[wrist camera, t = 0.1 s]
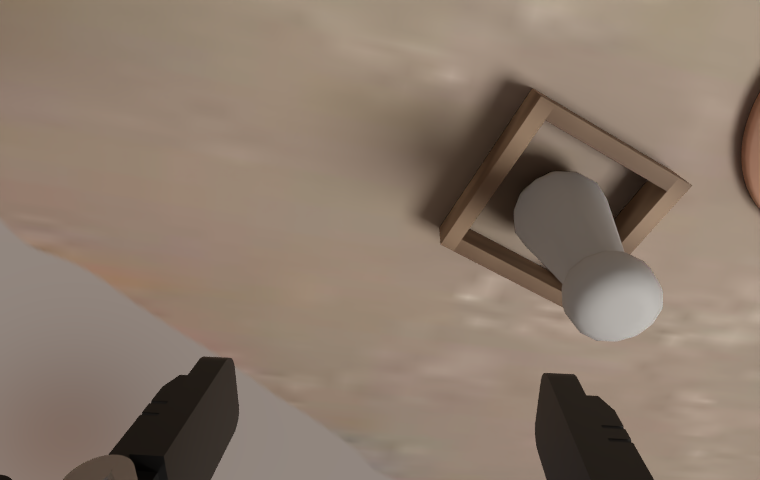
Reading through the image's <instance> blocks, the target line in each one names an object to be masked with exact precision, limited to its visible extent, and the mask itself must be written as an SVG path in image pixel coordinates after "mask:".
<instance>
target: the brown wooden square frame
mask: <svg viewBox="0 0 760 480" xmlns="http://www.w3.org/2000/svg"><path fill="white" fill-rule="evenodd" d="M545 120H546V121H548V122H549V123H551V124H553V125H554V126H556V127H558V128H560V129H561V130H563V131H565V132H566V133H568V134H570V135H571V136H573V137H575V138H577V139H578V140H580V141H582V142H583V143H585V144H587V145H589V146H590V147H592V148H594V149H595V150H597V151H599V152H601V153H602V154H604V155H606V156H607V157H609V158H611V159H613V160H614V161H616V162H618V163H619V164H621V165H623V166H625V167H626V168H628V169H630V170H631V171H633V172H635V173H637V174H638V175H640V176H642V177H643V178H645V179H647V180H648V181H647V182H646V183H645V184H644V185H643V186H642V188H641V189H640V190H639V191H638V192H637V194H636V195H635V196H634V197H633V198H632V199H631V201H630V202H629V203H628V204H627V205H626V206H625V208H624V209H623V210H622V211H621V212H620V214H619V215H618V216H617V217H616V218H615V219H614V222H615V225H616V228H617V231H618V234H619V237H620V240H621V243H622V246H623V249H624V252H625V253H628V254H631V253H632V252H633V251H634V249H635V248H636V247H637V246H638V245H639V244H640V243H641V242H642V241H643V239H644V238H645V237H646V236H647V235H648V234H649V233H650V232H651V231H652V229H653V228H654V227H655V226H656V225H657V224H658V223H659V222H660V221H661V220H662V218H663V217H664V216H665V215H666V214H667V213H668V212H669V211H670V210H671V208H672V207H673V206H674V205H675V204H676V203H677V202H678V201H679V200H680V198H681V197H682V196H683V195H684V194H685V193H686V192H687V191H688V190H689V189H690V187H691V186H692V185H691V184H689V183H688V182H687V181H685V180H684V179H683V178H681V177H680V176H678V175H677V174H676V173H674V172H673V171H671V170H670V169H668V168H666V167H665V166H663V165H661V164H659V163H658V162H656V161H654V160H653V159H651V158H649V157H648V156H646V155H644V154H643V153H641V152H639V151H638V150H636V149H634V148H633V147H631V146H629V145H627V144H626V143H624V142H622V141H621V140H619V139H617V138H616V137H614V136H612V135H611V134H609V133H607V132H606V131H604V130H602V129H601V128H599V127H597V126H595V125H594V124H592V123H590V122H589V121H587V120H585V119H584V118H582V117H580V116H579V115H577V114H575V113H574V112H572V111H570V110H568V109H567V108H565V107H563V106H562V105H560V104H558V103H557V102H555V101H553V100H552V99H550V98H548V97H547V96H545V95H543V94H542V93H540V92H538V91H536V90H535V89H533V88H532V89H531V91H530V92H529V94H528V95H527V97H526V98H525V100H524V101H523V103H522V104H521V106H520V108H519V109H518V111H517V112H516V114H515V115H514V117H513V118H512V120H511V121H510V123H509V124H508V126H507V127H506V129H505V130H504V132H503V133H502V135H501V136H500V138H499V139H498V141H497V142H496V144H495V145H494V147H493V148H492V150H491V151H490V153H489V154H488V156H487V157H486V159H485V160H484V162H483V163H482V165H481V166H480V168H479V169H478V171H477V172H476V174H475V175H474V177H473V178H472V180H471V181H470V183H469V184H468V186H467V187H466V189H465V190H464V192H463V193H462V195H461V196H460V198H459V199H458V201H457V202H456V204H455V205H454V207H453V208H452V210H451V211H450V213H449V214H448V216H447V217H446V219H445V220H444V222H443V223H442V225H441V226H440V228H439V230H440V242H441V245H443V246H445V247H447V248H449V249H451V250H453V251H454V252H456V253H458V254H460V255H462V256H464V257H466V258H468V259H470V260H472V261H474V262H476V263H478V264H480V265H482V266H484V267H486V268H487V269H489V270H491V271H493V272H495V273H497V274H499V275H501V276H503V277H505V278H507V279H509V280H511V281H513V282H515V283H517V284H519V285H521V286H522V287H524V288H526V289H528V290H530V291H532V292H534V293H536V294H538V295H540V296H542V297H544V298H546V299H548V300H550V301H552V302H554V303H556V304H557V305H559V306H561V307H563V305H562V285H563V284H562V283H561V282H560V281H559V280H558V279H557V278H556V277H555V275H554V274H553V273H552V272H550V271H549V270H547V269H545V268H543V267H541V266H539V265H537V264H535V263H533V262H531V261H530V260H528V259H526V258H524V257H522V256H520V255H518V254H516V253H514V252H512V251H511V250H509V249H507V248H505V247H503V246H501V245H499V244H497V243H495V242H493V241H492V240H490V239H488V238H486V237H484V236H482V235H480V234H478V233H476V232H474V231H473V230H471V229H469V228H470V227H471V225H472V224H473V223H474V221H475V220H476V218H477V217H478V215H479V214H480V213H481V211H482V210H483V208H484V207H485V205H486V204H487V203H488V201H489V200H490V198H491V197H492V195H493V194H494V193H495V191H496V190H497V188H498V187H499V185H500V184H501V183H502V181H503V180H504V178H505V177H506V175H507V174H508V173H509V171H510V170H511V168H512V167H513V165H514V164H515V162H516V161H517V160H518V158H519V157H520V155H521V154H522V152H523V151H524V150H525V148H526V147H527V145H528V144H529V142H530V141H531V140H532V138H533V137H534V135H535V134H536V132H537V131H538V130H539V128H540V127H541V125H542V124H543V122H544V121H545Z"/></svg>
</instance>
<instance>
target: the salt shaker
mask: <svg viewBox="0 0 760 480" xmlns="http://www.w3.org/2000/svg"><path fill="white" fill-rule="evenodd" d="M514 225H515V233H516V234H517V235H518V237H519V238H520V239H521V241H522V242H523V243H524V245H525V246H526V247H527V248H528V249H529V250H530V251H531V252H532V253H533V254H534V255H535V256H536V257H537V258H538V259H539V260H540V261H541V262H542V263H543V264H544V265H545V266H546V267H547V268H548V269H549V270H550V271H551V272H552V273H553V274H554V275H555V277H556V278H557V279H558V280H559V281H560V282H561V283H562V284H563V285H562V305H563V308H564V311H565V313H566V315H567V316H568V317H569V319H570V320H571V321H572V323H573V324H574V325H575V327H576V328H577V329H578V330H579V331H580V333H582V334H584V335H586V336H588V337H590V338H592V339H594V340H596V341H620V340H623V339H627V338H630V337H634V336H637V335H638V334H640V333H641V332H642V331H644V330H645V329H646V328H648V327H649V326H650V325H652V324H653V323H654V321H655V319H656V318H657V316H658V315H659V313H660V311H661V310H662V308H663V290H662V288H661V286H660V283H659V282H658V280H657V278H656V277H655V275H654V273H653V272H652V270H651V268H650V267H649V266H648V265H647V264H646V263H645V262H644V261H642V260H640V259H638V258H636V257H634V256H632V255H630V254H628V253H625V252H624V249H623V246H622V243H621V240H620V237H619V234H618V231H617V228H616V225H615V222H614V219H613V216H612V213H611V210H610V207H609V204H608V201H607V198H606V197H605V195H604V193H603V192H602V190H601V189H600V187H599V185H598V184H597V183H596V182H595V181H593V180H591V179H589V178H587V177H585V176H583V175H581V174H579V173H577V172H564V171H554V172H549V173H548V174H546V175H545V176H542V177H540V178H537V179H535V180H534V181H533V182H532V183H531V184H530V185H529V186H527V187H526V188H525V189H524V190H523V191H522V192H521V193H520V195H519V198H518V201H517V203H516V206H515V209H514Z"/></svg>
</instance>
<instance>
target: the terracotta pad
mask: <svg viewBox="0 0 760 480" xmlns="http://www.w3.org/2000/svg"><path fill="white" fill-rule="evenodd" d="M741 162H742V172H743V176H744V181H745V184H746V187H747V189H748V191H749V194H750V196H751V198H752V199H753V201H754V202H755V204H756V205H757V206H758V208H759V209H760V92H759V94H758V96H757V98H756V100H755V102H754V104H753V106H752V109H751V112H750V114H749V117H748V120H747V123H746V127H745V131H744V135H743V140H742V151H741Z"/></svg>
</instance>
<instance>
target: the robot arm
mask: <svg viewBox="0 0 760 480" xmlns="http://www.w3.org/2000/svg"><path fill="white" fill-rule="evenodd" d="M238 416H239V404H238V394H237V385H236V376H235V366H234V362H233V360H232V359H231V358H222V357H202V358H200V359H199V361H198V362H197V363H196V365H195V366H194V368H193V369H192V370H191V371H190V373H189V374H188V375H179V376H178V377H176V378H175V379H173V380H172V381H170V382H169V383H167V384H166V385H165V386H163V387H162V388H161V389H160V391H159V392H158V393H157V394H156V396H155V397H154V398H153V399H152V402H151V404H150V403H149V404H148V406H147V407H146V408H145V409H144V411H143V412H142V415H140V416H139V417H138V418H137V419H136V421H135V422H134V423H133V425H132V426H131V427H130V428H129V430H128V431H127V432H126V433H125V435H124V436H123V437H122V438H121V440H120V441H119V442H118V444H117V445H116V446H115V447H114V448H113V450H112V451H111V452H110V453H109V455H105V456H101V457H97V458H94V459H92V460H89V461H87V462H85V463H83V464H81V465H79V466H78V467H76V468H75V469H73V470H72V471H71V472H70V473H69V474H67V475H66V476H65V478H64V479H63V480H211V478H212V476H213V474H214V472H215V470H216V468H217V466H218V464H219V462H220V460H221V458H222V456H223V454H224V452H225V450H226V448H227V446H228V444H229V442H230V440H231V438H232V436H233V434H234V432H235V429H236V426H237V422H238ZM535 438H536V446H537V450H538V453H539V457H540V460H541V463H542V466H543V470H544V473H545V476H546V479H547V480H654V479H653V477H652V476H651V474H650V472H649V470H648V469H647V467H646V465H645V463H644V461H643V460H642V458H641V456H640V454H639V453H638V451H637V449H636V447H635V446H634V444H633V443H631V439H630V437H629V435H628V433H627V432H626V430H625V429H624V428H623V424H622V423H621V421H620V419H619V417H618V416H617V414H616V412H615V410H614V409H612V408H611V407H610V406H609V405H608V404H607V403H605V402H604V401H603V400H602V399H601V398H600V397H598V396H587V395H586V394H585V392H584V390H583V388H582V386H581V384H580V382H579V380H578V379H577V377H576V376H575V375H574V374H555V373H544V374H543V375H542V378H541V384H540V392H539V399H538V407H537V414H536V422H535ZM0 480H12V479H11V478H9V477H8V476H5V475H0Z"/></svg>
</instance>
